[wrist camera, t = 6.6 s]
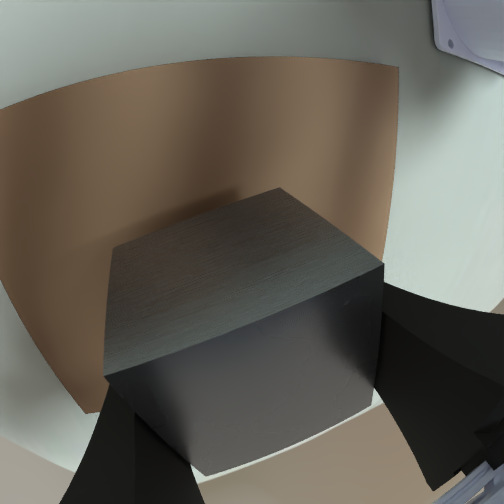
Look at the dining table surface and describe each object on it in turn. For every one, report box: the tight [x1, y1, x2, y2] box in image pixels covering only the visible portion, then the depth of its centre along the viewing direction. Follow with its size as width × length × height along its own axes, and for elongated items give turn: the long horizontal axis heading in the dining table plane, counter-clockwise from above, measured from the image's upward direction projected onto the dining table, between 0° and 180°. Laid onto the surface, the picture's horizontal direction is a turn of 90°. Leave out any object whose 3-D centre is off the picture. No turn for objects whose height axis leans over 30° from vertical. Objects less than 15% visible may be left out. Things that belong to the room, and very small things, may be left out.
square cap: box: [103, 187, 384, 476], centre depth 9 cm, size 5×5×5 cm
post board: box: [0, 56, 399, 414], centre depth 11 cm, size 17×15×4 cm
